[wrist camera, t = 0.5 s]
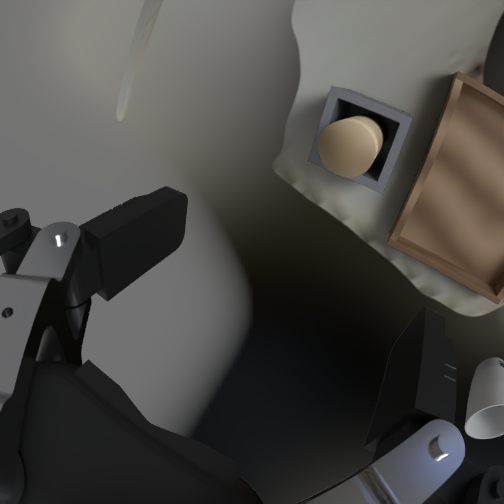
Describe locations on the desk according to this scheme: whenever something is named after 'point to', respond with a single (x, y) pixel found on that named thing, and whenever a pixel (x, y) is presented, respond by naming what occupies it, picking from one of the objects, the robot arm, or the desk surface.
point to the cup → (486, 401)
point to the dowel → (352, 144)
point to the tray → (460, 193)
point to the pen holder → (353, 104)
